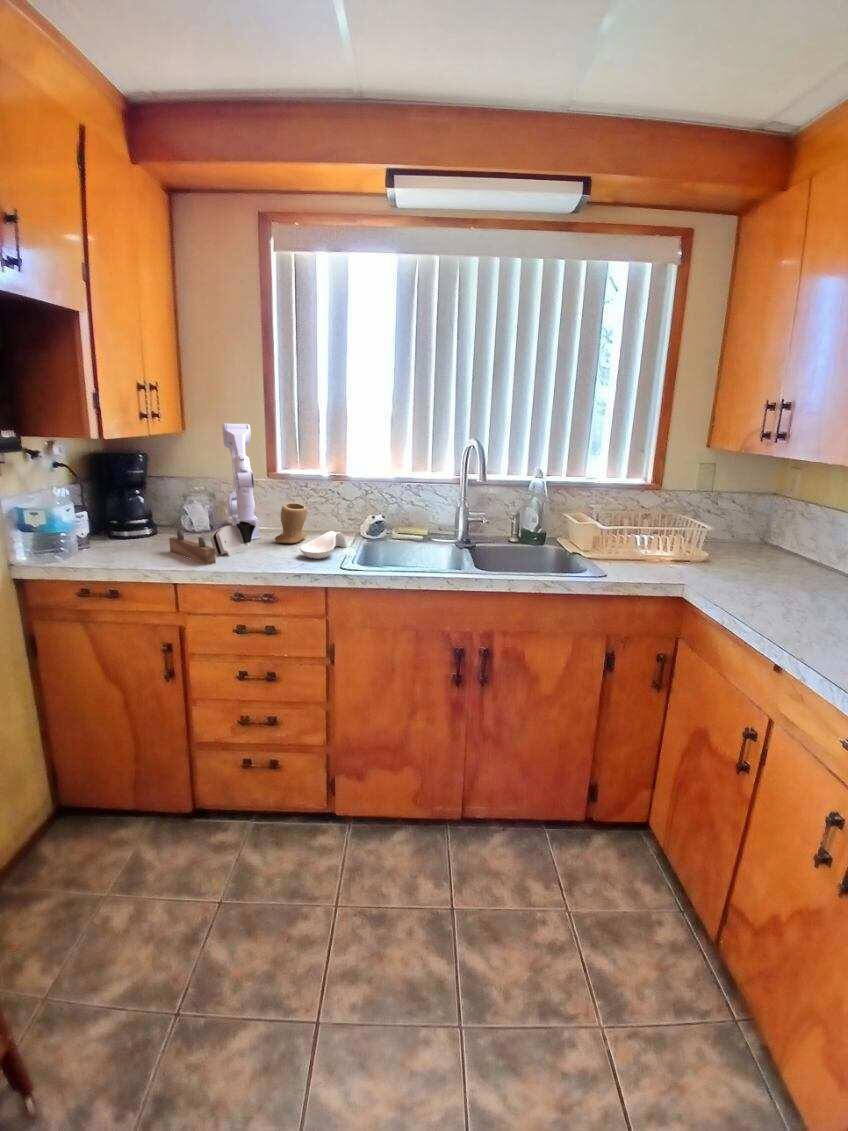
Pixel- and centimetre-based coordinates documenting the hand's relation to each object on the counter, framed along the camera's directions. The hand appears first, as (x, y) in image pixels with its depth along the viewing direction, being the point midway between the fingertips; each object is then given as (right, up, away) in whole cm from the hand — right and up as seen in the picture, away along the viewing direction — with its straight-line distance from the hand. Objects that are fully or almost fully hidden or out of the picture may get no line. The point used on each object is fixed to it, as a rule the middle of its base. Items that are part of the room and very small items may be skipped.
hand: (247, 542), depth 207 cm
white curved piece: (-5, -3, -4) cm, 7 cm away
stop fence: (-14, -6, -16) cm, 22 cm away
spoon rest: (+29, -4, -3) cm, 30 cm away
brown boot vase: (+14, +1, +13) cm, 19 cm away
